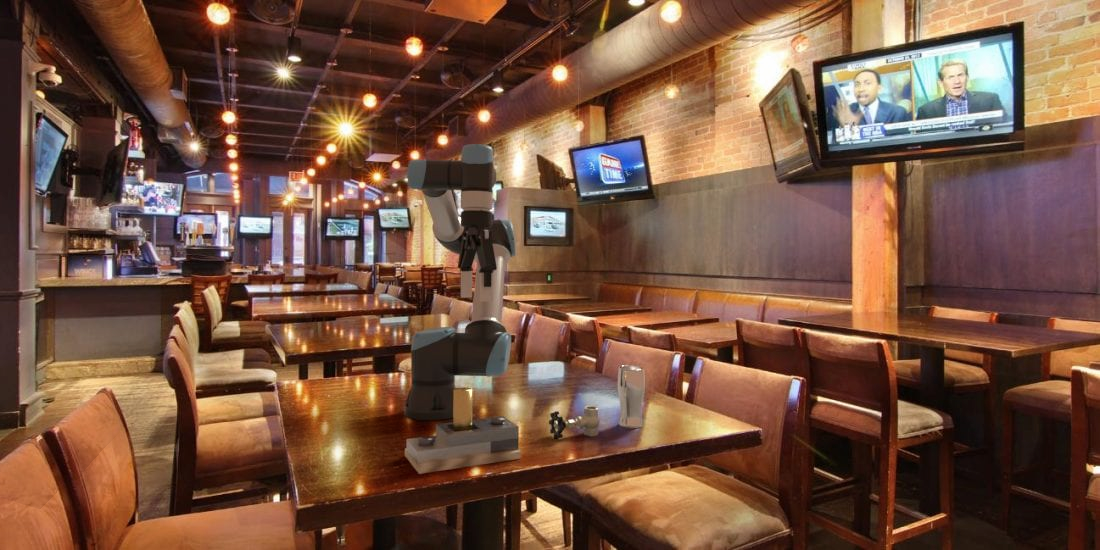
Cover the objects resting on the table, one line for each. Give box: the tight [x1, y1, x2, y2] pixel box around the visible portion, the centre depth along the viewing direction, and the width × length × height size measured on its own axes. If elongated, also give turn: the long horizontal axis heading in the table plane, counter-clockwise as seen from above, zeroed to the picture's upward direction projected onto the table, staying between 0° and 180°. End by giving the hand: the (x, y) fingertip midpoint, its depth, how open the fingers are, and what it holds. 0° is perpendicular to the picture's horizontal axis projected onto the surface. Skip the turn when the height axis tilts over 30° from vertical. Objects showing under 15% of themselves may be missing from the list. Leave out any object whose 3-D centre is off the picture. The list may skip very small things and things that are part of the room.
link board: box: [404, 448, 522, 475], centre depth 127 cm, size 22×12×2 cm, turn 117°
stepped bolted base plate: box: [405, 415, 520, 464], centre depth 127 cm, size 22×9×6 cm, turn 117°
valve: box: [548, 405, 600, 440], centre depth 144 cm, size 7×7×12 cm
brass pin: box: [452, 386, 473, 432], centre depth 127 cm, size 4×4×13 cm
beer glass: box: [617, 364, 646, 429], centre depth 154 cm, size 7×7×15 cm
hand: (475, 299), depth 143 cm, fingers open, 13 cm apart
